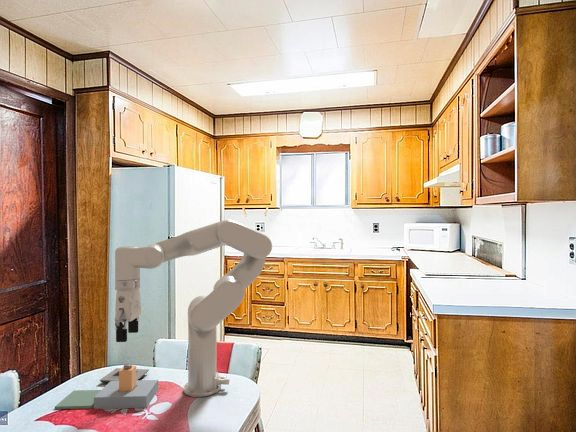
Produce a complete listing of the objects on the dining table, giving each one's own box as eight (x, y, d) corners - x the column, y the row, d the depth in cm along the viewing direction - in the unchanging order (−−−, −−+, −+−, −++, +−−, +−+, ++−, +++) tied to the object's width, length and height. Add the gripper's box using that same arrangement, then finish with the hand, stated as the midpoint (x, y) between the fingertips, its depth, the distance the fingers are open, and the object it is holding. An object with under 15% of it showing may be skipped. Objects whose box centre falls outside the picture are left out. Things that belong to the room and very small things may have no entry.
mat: (106, 392, 126) (106, 389, 126) (91, 408, 115) (91, 405, 115) (73, 392, 125) (73, 390, 126) (54, 409, 114) (54, 406, 115)
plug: (136, 396, 123) (136, 362, 123) (131, 401, 119) (131, 367, 119) (123, 396, 123) (124, 362, 123) (118, 402, 119) (119, 367, 119)
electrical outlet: (149, 375, 141) (149, 368, 141) (134, 387, 131) (134, 380, 131) (116, 373, 142) (116, 367, 142) (99, 385, 132) (99, 379, 132)
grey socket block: (158, 390, 127) (158, 379, 127) (146, 407, 115) (146, 396, 115) (110, 391, 127) (110, 380, 127) (93, 408, 115) (93, 397, 115)
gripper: (129, 288, 113) (129, 345, 113) (148, 280, 130) (148, 329, 130) (103, 289, 113) (103, 346, 112) (126, 280, 130) (126, 329, 130)
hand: (127, 336), depth 121 cm, fingers open, 9 cm apart
